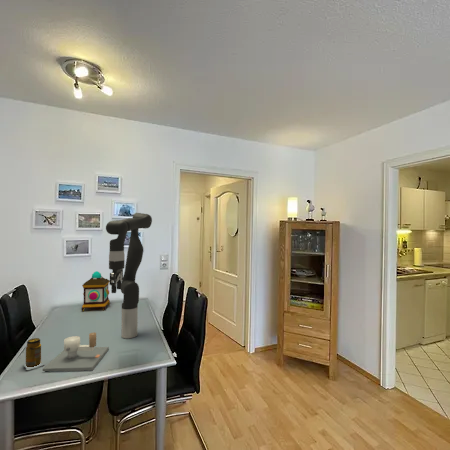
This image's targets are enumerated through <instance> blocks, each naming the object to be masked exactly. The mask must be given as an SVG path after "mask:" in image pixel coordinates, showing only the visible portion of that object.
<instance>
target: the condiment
mask: <svg viewBox="0 0 450 450" xmlns="http://www.w3.org/2000/svg"><path fill="white" fill-rule="evenodd" d="M41 362H42V344H41V339H40V338H39V337H37V338H36V337H35V338H30V339H28V340H27V341H26V347H25V364H26V366H27V367H34V366H37V365H39V364H40V363H41Z"/></svg>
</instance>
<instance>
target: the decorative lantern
mask: <svg viewBox="0 0 450 450" xmlns="http://www.w3.org/2000/svg"><path fill="white" fill-rule="evenodd" d="M109 285H110V279H108V278H104V277H103V276H102V273H101V272H100V271H94V272H93V273H92V274H91V278H89V279H88V280H86V281H85V282H84V283H82V288H83V293H82V294H83V303H82V306H81V312H84V311H85V309H94V308H95V309H97V308H98V309H100V308H102V310H103V311H104V310H105V311H106V308H107V306H110V305H111V301H110V299H109V295H110V290H109ZM109 304H110V305H109Z"/></svg>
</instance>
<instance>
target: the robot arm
mask: <svg viewBox="0 0 450 450" xmlns="http://www.w3.org/2000/svg"><path fill="white" fill-rule="evenodd" d="M152 222H153V218H152V215H150V214H148V213H141V212H135V213H133V216H132V218H131V217H129V218H124V219H119V220H118V219H117V220H116V219H115V220H110V221H109V222H107V224H106V225H105V231H106V232H107V234H110V235H117V237H116V238H114V239H110V241H109V252H108V269H109V270H111V272H110V273H109V281H110V282H109V286H111V289H110V291H111V294H116V293H117V290H120V292H121V293H122V294H123V299H122V300H123V302H122V303H121V338H123V339H134V338H135V337H138V323H139V322H138V319H139V317H138V313H139V312H138V311H139V310H138V309H139V307H138V306H139V301H140V300H139V299H140V286H139V284H138V283H137V282H136V278H137V273H138V269H139V267H140V265H141V263H142V261H143V255H144V246H143V243H142V241H141V239H140V236H139V235H140V234H139V229H149V228H150V227H151V226H152ZM128 232H130V237H129V245H128V248H127V253H126V260H125V241H126V237H127V233H128Z"/></svg>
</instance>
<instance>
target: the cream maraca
mask: <svg viewBox="0 0 450 450" xmlns="http://www.w3.org/2000/svg"><path fill="white" fill-rule="evenodd" d="M94 347H97V332H90V333H89V334H88V344H81V336H79V335H77V336H76V335H73V336H68V337H66V338H64V340H63V350H64V351H65V352H74V351H92V350H93V349H94Z"/></svg>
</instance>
